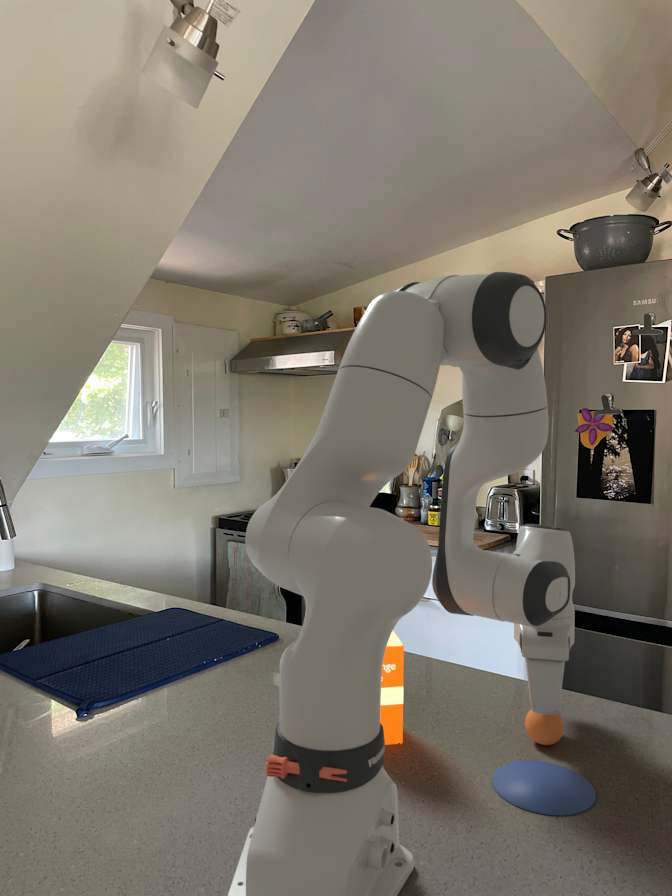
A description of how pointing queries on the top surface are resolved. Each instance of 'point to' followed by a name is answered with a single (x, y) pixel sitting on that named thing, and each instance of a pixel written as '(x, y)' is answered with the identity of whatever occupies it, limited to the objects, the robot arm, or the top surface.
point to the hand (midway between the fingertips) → (542, 717)
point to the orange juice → (392, 691)
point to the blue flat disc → (544, 788)
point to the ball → (544, 727)
